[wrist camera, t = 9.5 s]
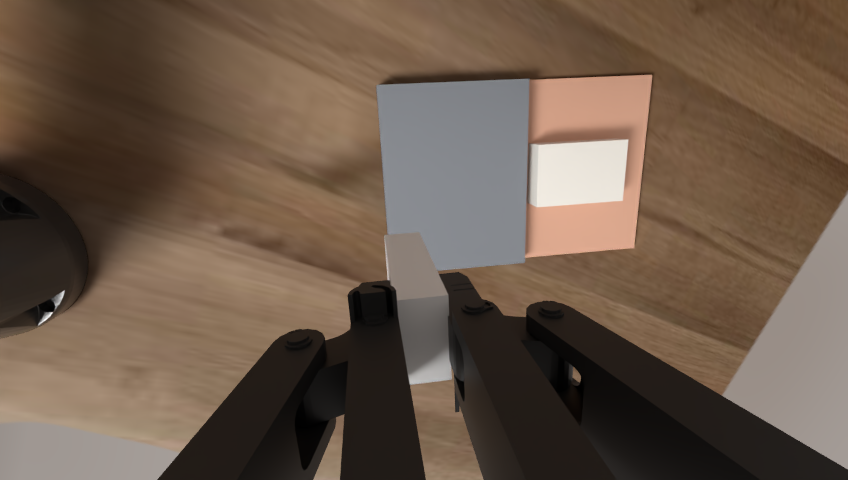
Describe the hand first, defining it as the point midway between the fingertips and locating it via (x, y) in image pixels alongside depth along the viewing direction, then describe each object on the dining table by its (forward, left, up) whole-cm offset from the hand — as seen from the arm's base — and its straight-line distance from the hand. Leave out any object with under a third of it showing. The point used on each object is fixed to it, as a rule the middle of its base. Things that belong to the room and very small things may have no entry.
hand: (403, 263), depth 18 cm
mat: (+21, 0, -24) cm, 32 cm away
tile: (+19, 0, -24) cm, 30 cm away
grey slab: (+7, 0, -24) cm, 25 cm away
